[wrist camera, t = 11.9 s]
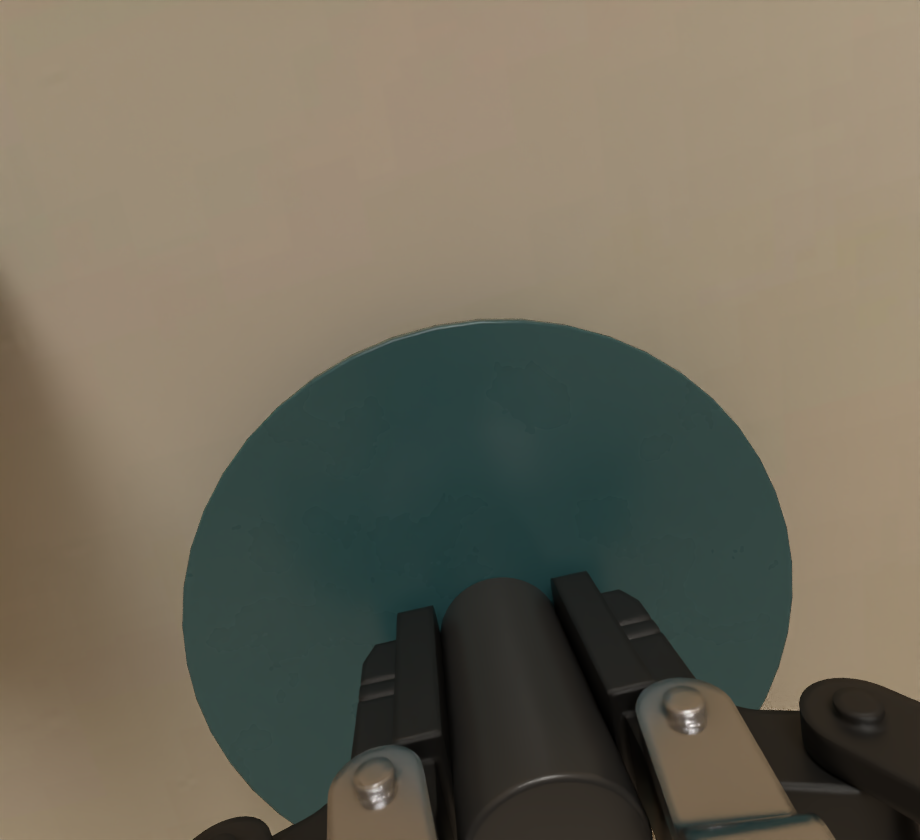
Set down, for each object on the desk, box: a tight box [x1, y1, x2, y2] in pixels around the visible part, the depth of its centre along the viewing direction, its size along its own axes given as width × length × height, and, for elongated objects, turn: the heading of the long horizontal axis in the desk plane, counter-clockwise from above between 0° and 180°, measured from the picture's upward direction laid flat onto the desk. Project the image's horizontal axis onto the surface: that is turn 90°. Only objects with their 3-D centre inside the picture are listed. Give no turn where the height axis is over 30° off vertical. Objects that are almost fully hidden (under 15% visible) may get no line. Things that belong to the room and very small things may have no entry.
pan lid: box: [182, 319, 792, 840], centre depth 10 cm, size 12×12×6 cm
